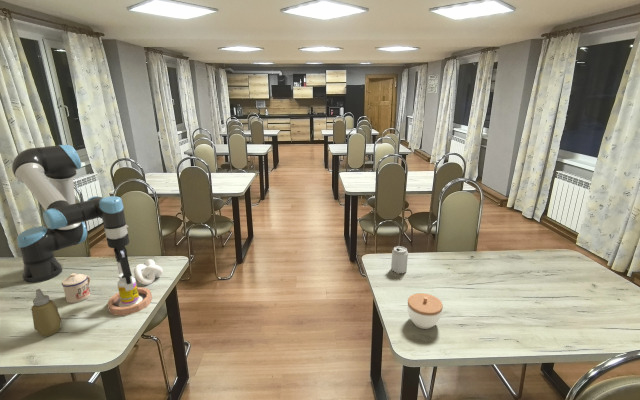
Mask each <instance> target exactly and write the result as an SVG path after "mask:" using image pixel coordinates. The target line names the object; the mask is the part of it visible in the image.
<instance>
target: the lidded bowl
mask: <svg viewBox="0 0 640 400" xmlns="http://www.w3.org/2000/svg"><path fill="white" fill-rule="evenodd" d="M442 311H443V302H442V301H441V300H440V299H439V298H437V297H436V296H434V295H432V294H428V293H419V292H418V293H414V294H412V295H410V296H409V297H408V299H407V313H408V317H409V319H410V321H411V323H413V324H414V325H415V326H416V327H417V328H419V329H422V330H423V329H424V330H428V329H429V330H430V329H431V328H432V327H434V326H436V325H437V324H438V323H439V321H440V319H441V316H442Z"/></svg>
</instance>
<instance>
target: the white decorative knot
mask: <svg viewBox="0 0 640 400" xmlns="http://www.w3.org/2000/svg"><path fill="white" fill-rule="evenodd" d="M163 274H164V271H163V268H162V267H161V266H159V265H157V264H156V262H155V261H154V260H153V259H151V258H150V259H147V260H145V261H144V263H143V264H142V263H139V264H137V265H135V267H134V269H133V275H134V278H135V280H136V281H138V282H139V283H140V284H142V285H144V286H147V285H151V284H153V282H154V281H155V278H156V279H157V278H160V277H161V276H163Z"/></svg>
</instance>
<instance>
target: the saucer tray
mask: <svg viewBox="0 0 640 400" xmlns="http://www.w3.org/2000/svg"><path fill="white" fill-rule="evenodd" d="M137 290H138V295H139V300H138V301H137V302H136V303H134V304H132V305H123V304H122V303H121V299H120V294H119V292H117V293H115V294H114V295H112V296H111V297H110V298H109V299H108V301H107V308H108V310H109V313H111V314H112V315H114V316H128V315H132V314H135V313H138V312H140V311H142V310H144V309H145V308H147V307H148V306H149V305H150V304H151V303H152V300H153V296H152V292H151V290H150V289H149V288H147V287H141V286H140V287H139V286H137Z"/></svg>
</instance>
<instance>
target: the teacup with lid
mask: <svg viewBox="0 0 640 400" xmlns="http://www.w3.org/2000/svg"><path fill="white" fill-rule="evenodd" d="M90 284H91V277H90V276H89V275H87V274H83V273H78V274H77V273H76V272H73V273H71V274H70V275H69V276H67V277H65V278H64V279H63V280H62V281H61V286H62V287H63V292H64V296H65V299H66V302H67V303H71V304H77V303H80V302H81V303H82V301H83V302H84V301H86V300H87V299H88V298H89V297H90V296H91V290H90V286H89V285H90Z"/></svg>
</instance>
